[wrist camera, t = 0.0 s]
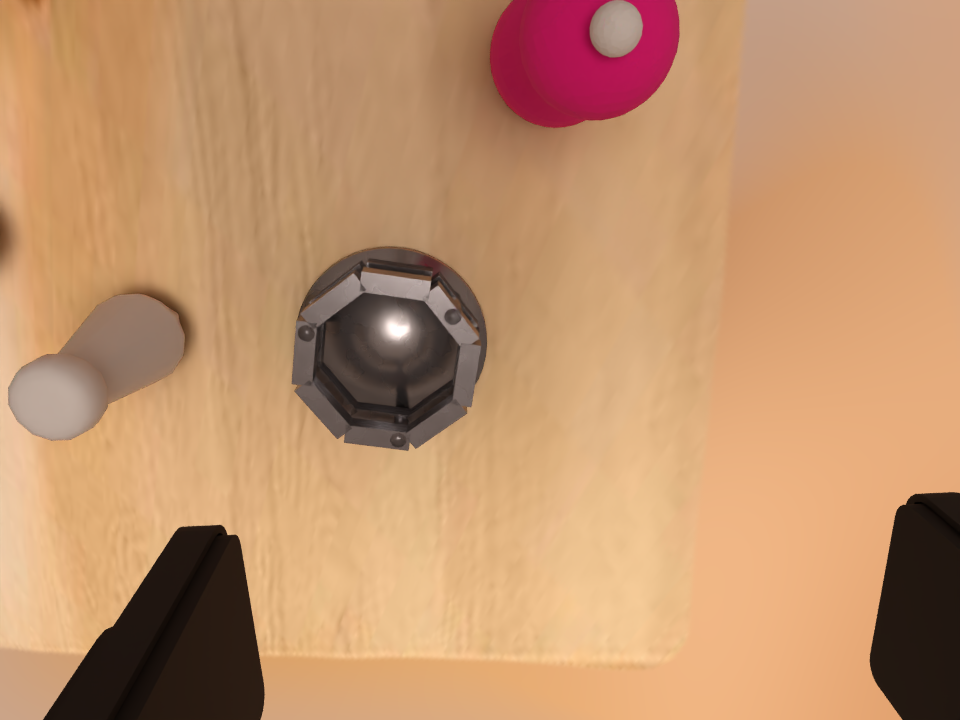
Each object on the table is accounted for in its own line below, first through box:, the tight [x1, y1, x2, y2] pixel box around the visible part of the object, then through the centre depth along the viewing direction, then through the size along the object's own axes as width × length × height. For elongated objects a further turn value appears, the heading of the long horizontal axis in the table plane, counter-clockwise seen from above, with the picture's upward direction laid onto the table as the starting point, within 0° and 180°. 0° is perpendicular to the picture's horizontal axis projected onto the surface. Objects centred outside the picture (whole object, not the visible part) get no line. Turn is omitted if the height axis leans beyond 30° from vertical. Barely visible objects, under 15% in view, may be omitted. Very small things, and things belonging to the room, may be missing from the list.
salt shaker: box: [8, 293, 185, 441], centre depth 41 cm, size 6×6×13 cm
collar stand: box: [292, 247, 487, 451], centre depth 46 cm, size 12×12×5 cm
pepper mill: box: [490, 0, 679, 128], centre depth 33 cm, size 7×7×20 cm
